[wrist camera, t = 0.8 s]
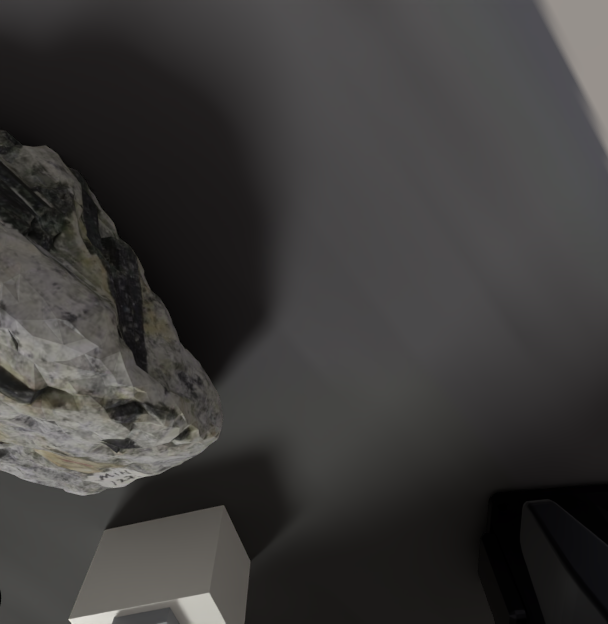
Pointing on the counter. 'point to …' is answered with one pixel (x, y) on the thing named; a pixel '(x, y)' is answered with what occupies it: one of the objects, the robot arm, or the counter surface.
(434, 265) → the counter surface
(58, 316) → the rock
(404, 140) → the counter surface
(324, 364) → the counter surface
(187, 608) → the module
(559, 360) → the counter surface
